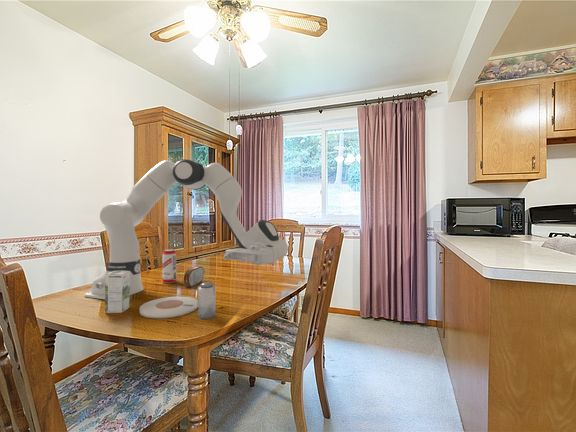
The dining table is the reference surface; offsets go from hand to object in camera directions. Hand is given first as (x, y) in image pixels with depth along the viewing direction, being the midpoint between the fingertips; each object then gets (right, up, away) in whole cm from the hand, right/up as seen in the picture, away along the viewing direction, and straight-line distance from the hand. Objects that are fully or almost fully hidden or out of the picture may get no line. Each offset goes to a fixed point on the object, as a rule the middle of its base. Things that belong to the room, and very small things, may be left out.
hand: (233, 258), depth 108 cm
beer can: (-39, -18, +40) cm, 58 cm away
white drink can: (-7, -19, -9) cm, 22 cm away
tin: (-25, -18, +36) cm, 47 cm away
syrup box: (-40, -19, -3) cm, 44 cm away
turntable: (-22, -17, -2) cm, 28 cm away
